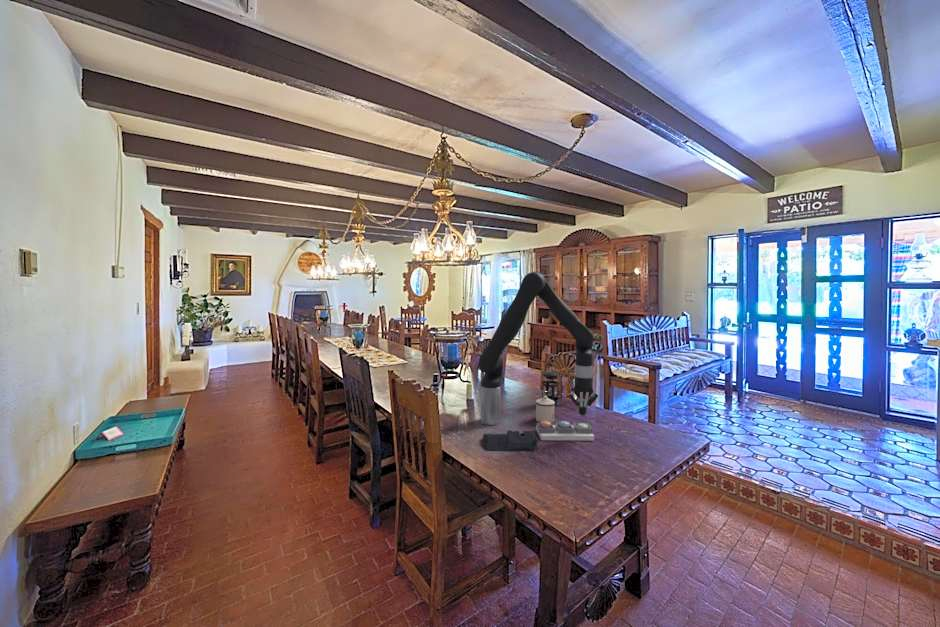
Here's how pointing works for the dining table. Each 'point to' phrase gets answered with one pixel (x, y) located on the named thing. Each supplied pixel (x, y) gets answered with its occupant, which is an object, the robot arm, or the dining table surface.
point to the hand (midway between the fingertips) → (582, 414)
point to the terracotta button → (545, 424)
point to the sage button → (582, 425)
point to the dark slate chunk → (510, 441)
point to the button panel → (565, 432)
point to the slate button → (564, 424)
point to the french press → (551, 393)
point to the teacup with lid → (545, 409)
